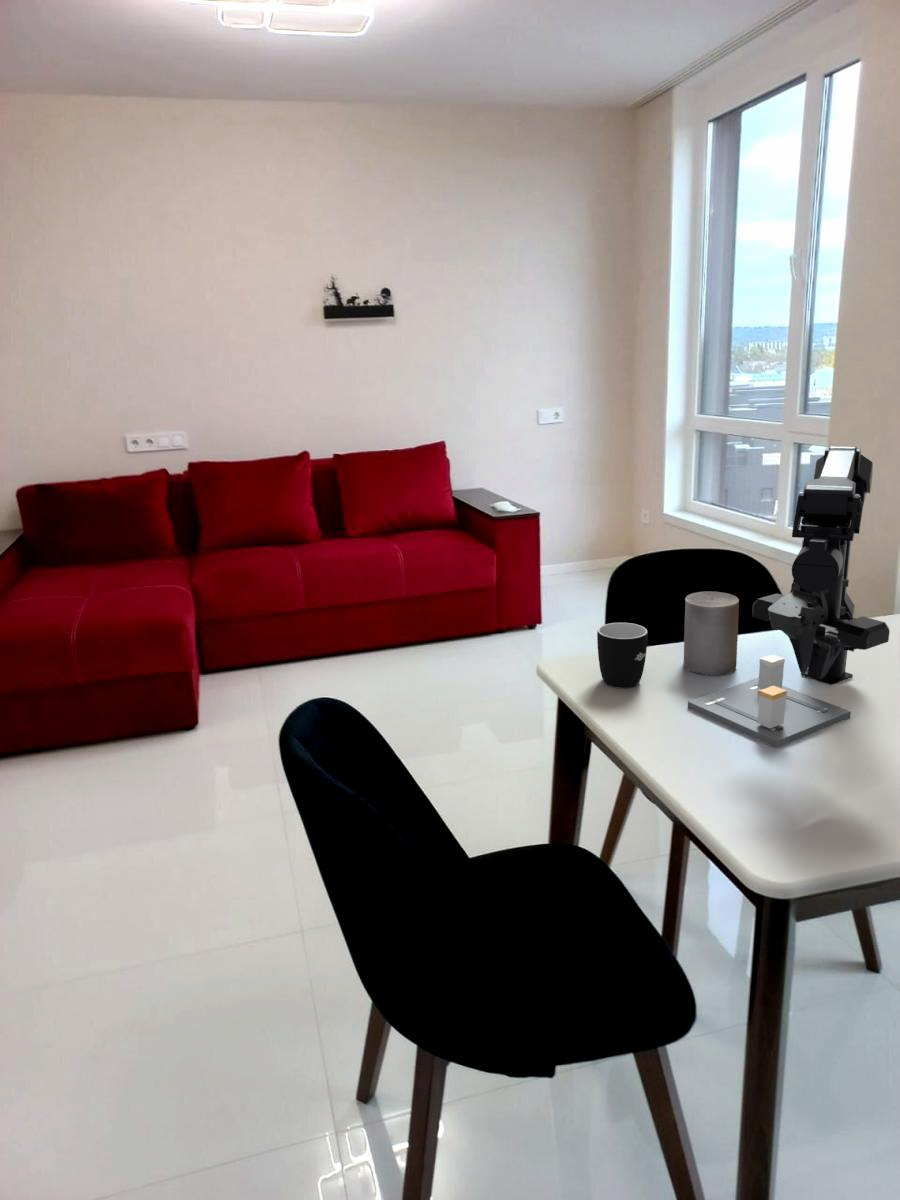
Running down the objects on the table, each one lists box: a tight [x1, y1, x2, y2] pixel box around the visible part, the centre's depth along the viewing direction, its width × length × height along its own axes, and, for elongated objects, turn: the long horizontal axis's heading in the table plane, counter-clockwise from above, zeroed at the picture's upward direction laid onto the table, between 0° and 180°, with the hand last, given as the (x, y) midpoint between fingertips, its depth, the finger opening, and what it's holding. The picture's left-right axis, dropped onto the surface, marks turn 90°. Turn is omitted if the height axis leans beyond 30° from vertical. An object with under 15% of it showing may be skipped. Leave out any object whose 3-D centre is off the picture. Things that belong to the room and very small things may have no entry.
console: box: [687, 677, 852, 749], centre depth 136 cm, size 18×18×1 cm
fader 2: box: [757, 686, 787, 728], centre depth 128 cm, size 3×2×6 cm
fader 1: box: [758, 653, 786, 690], centre depth 141 cm, size 3×2×6 cm
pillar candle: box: [683, 590, 740, 676], centre depth 154 cm, size 10×10×15 cm
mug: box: [596, 622, 649, 689], centre depth 151 cm, size 12×9×10 cm
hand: (812, 674), depth 120 cm, fingers open, 3 cm apart
